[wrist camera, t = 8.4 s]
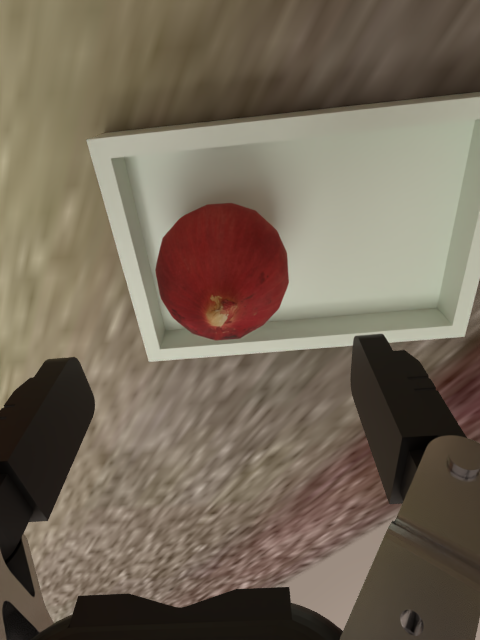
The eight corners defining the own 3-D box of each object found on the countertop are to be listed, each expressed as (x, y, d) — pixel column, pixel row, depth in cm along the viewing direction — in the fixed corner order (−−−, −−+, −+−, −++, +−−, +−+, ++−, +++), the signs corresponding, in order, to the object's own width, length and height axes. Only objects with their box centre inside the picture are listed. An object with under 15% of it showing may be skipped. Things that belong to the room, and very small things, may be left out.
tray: (104, 132, 18) (86, 139, 16) (491, 90, 17) (527, 91, 15) (157, 336, 24) (148, 361, 22) (443, 313, 23) (464, 336, 21)
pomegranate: (280, 288, 22) (301, 383, 15) (178, 295, 22) (152, 392, 15) (279, 181, 18) (304, 238, 12) (160, 189, 19) (117, 251, 12)
